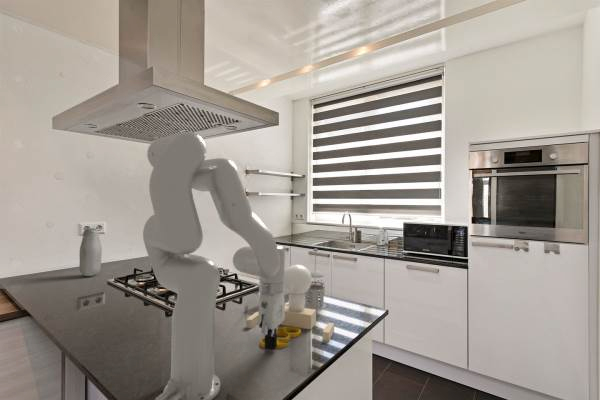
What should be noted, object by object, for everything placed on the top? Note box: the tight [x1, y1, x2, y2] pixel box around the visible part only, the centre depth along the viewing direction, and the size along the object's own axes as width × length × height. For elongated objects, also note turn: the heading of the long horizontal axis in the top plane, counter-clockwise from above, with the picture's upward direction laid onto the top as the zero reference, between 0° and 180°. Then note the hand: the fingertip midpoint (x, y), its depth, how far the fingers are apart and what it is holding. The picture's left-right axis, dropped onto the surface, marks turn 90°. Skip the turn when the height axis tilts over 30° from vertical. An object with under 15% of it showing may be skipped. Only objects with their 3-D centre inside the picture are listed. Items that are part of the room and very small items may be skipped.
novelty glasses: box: [259, 326, 302, 350], centre depth 98 cm, size 17×2×10 cm
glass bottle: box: [79, 227, 103, 277], centre depth 173 cm, size 10×10×28 cm
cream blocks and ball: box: [245, 263, 335, 343], centre depth 109 cm, size 16×30×22 cm, turn 71°
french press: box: [305, 248, 327, 311], centre depth 129 cm, size 10×12×25 cm
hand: (270, 347), depth 90 cm, fingers closed
